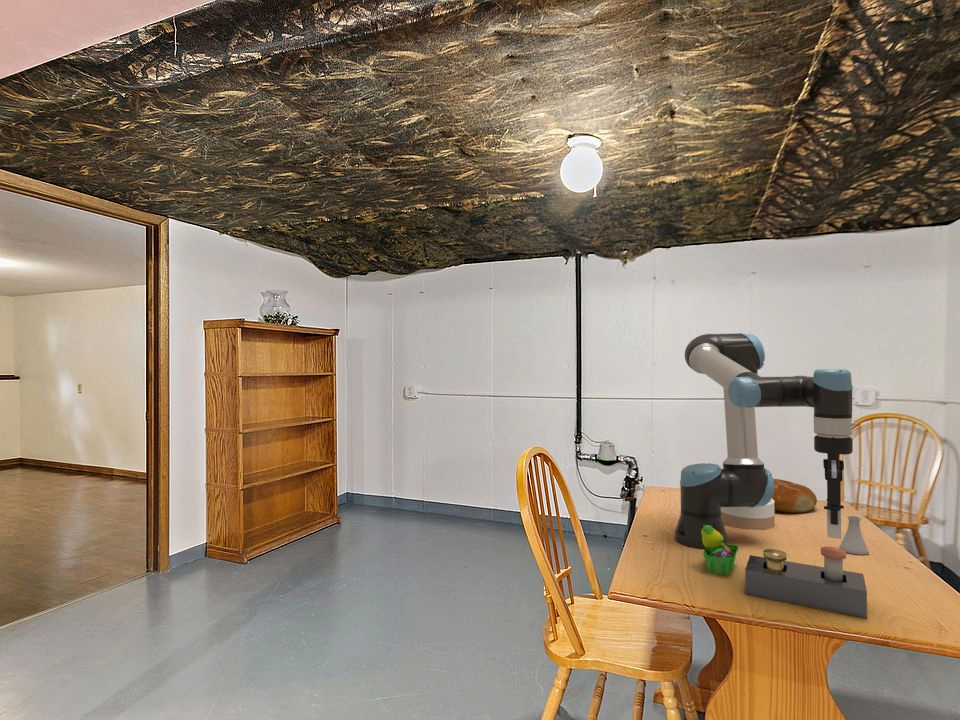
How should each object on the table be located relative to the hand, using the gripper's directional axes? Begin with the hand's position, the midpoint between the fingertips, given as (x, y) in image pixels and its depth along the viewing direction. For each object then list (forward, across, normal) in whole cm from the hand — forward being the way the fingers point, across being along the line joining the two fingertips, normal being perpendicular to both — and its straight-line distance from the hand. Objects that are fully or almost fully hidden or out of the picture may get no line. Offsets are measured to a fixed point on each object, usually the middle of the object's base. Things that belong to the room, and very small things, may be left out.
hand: (834, 537), depth 127 cm
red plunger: (+11, 0, 0) cm, 11 cm away
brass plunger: (+14, 0, +12) cm, 18 cm away
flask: (+15, +42, -6) cm, 45 cm away
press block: (+15, 0, +6) cm, 17 cm away
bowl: (+15, +57, +24) cm, 64 cm away
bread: (+15, +83, +15) cm, 86 cm away
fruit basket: (+15, +9, +26) cm, 32 cm away
